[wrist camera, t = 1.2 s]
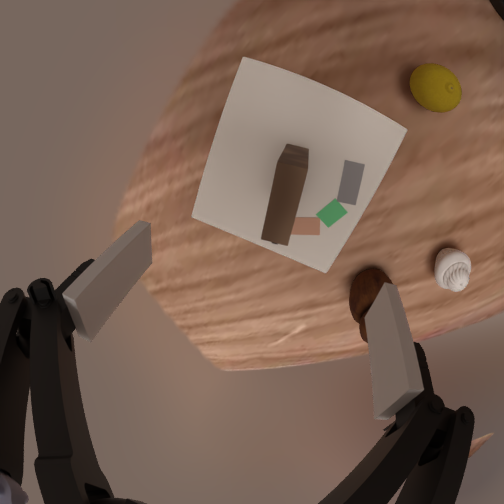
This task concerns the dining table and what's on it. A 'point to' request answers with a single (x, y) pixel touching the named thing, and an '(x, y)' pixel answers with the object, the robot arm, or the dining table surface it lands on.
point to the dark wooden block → (285, 194)
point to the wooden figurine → (365, 295)
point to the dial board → (319, 164)
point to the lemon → (435, 87)
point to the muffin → (452, 269)
